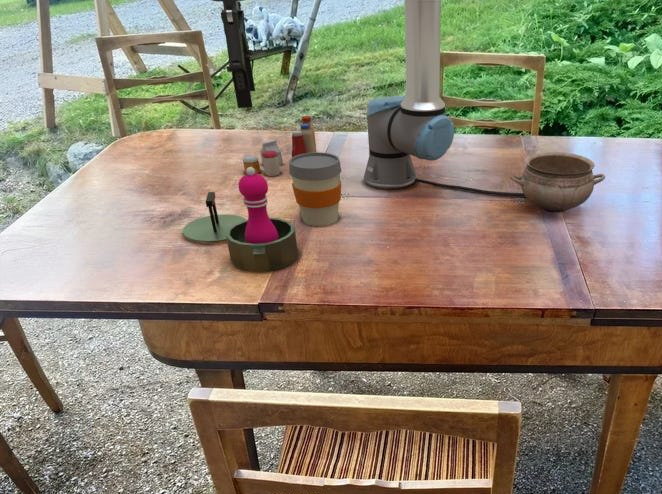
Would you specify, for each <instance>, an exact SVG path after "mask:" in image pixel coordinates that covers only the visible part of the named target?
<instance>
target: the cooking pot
mask: <svg viewBox="0 0 662 494" xmlns="http://www.w3.org/2000/svg"><path fill="white" fill-rule="evenodd" d="M525 163H526V166H525V168H524V169H523V172H522V175H515V174H511V175H510V176H509V177H510V180H511V181H513V182H514V183H516V184H518V185H519V186H520V187H521V191H522V193H524V195H525V196H526V197H525V198H526V199H527V200H528V201H529V202H530V203H532V204H533V205H535V206H537V207H538V208H540V209H541V210H543V211H544V212H547V213H551V214H552V213H553V214H558V213H559V214H561V213H563V212H566V211H569V210H572V209H575V208H577V207H579V206H581V205H582V204H585V202H587V201H588V200H589V198H590V197H591V195H592V193H593V191H594V189H595V186H596V185H597V184H599V183H601V182H603V181H604V180H605V179H606V175H605V174H604V173H598V174H594V173H593V169H594V168H595V166H596V165H595V162H593V161H592V159H590V158H588V157H586V156H583V155H580V154H575V153H570V152H561V151H545V152H537V153H533V154H531V155H528V156H527V157H526V159H525Z"/></svg>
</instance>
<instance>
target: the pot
mask: <svg viewBox="0 0 662 494" xmlns="http://www.w3.org/2000/svg"><path fill="white" fill-rule="evenodd" d="M269 219H270V220H271V222H272V223H273V225H274V226H275V228H276V230H277V232H278V237H279V238H278V240H276V241H271V242H267V243H256V244H252V243H246V241H245V229H246V226H247V222H248V219H247V220H244V221H241V222H239V223H236V224H234V225H232V226H231V227H230V228H229V229H228V230H227V233H226V239H227V241H226V243H227V248H228V253H229V258H230V261H231V263H232V265H233V266H234V267H235V268H236V269H239V270H240V271H243V272H249V273H269V272H274V271H278V270H281V269H285V268H286V267H289V266H291V265H293V264H294V263H295V262H296V260H297V259H298V256H299V253H298V251H299V249H298V242H297V234H296V226H295V225H294V224H293V223H292V222H291V221H289V220H286V219H283V218H280V217H270V216H269Z"/></svg>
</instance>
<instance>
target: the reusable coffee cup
mask: <svg viewBox="0 0 662 494" xmlns="http://www.w3.org/2000/svg"><path fill="white" fill-rule="evenodd" d="M288 173H289V176H291V180H292V183H291V187H292V191H293V194H294V198H295V202H296V204H297V205H298V207H299V211H300V215H301V219H302V222H303V223H305V224H306V225H308V226H314V227H323V226H325V227H326V226H329V225H332V224H334V223H336V222H337V221H338V220H339V207H340V205H339V204H340V201H341V196H342V180H341V173H342V166H341V162H340V158H339V156H337V155H336V154H333V153H329V152H317V151H316V152H314V153H305V154H300V155H297V156H294V157H292V156H291V158H290V159H289V160H288Z"/></svg>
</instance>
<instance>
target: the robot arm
mask: <svg viewBox="0 0 662 494" xmlns="http://www.w3.org/2000/svg"><path fill="white" fill-rule="evenodd" d="M211 1H213V2H222V7H223V9H221V11H220V18H221V22H222V25H223V32H224V36H225V41H226V50H227V56H228V57H227V58H228V63H229V64H228V66H226V71H227V72H228V73H231V77H232V81H233V88H234V93H235V100H236V105H237V108H238V109H251V108H253V100H252V95H251V92H256V86H255V80H254V73H253V69H252V68H253V67H252V62H251V56H254V55H253V54H254V52H253V49H250V46H249V43H248V38H247V33H246V22H245V12H244V10H243V9H242V3H241V2H243V1H245V0H211ZM403 2H404V5H403V6H404V50H405V51H404V52H405V53H404V55H405V59H404V61H405V62H404V63H405V96H402V95H401V96H399V95H398V96H397V95H396V96H386V97H378V98H374V99H372V100H369V102H368V103H367V107H366V108H367V109H366V122H367V123H366V124H367V139H368V140H367V141H368V155H369V156H368V159H367V163H366V167H365V169H364V170H365V171H364V175H363V183H364V185H365V186H366V187H368V188H370V189H373V190H377V191H384V192H393V191H394V192H395V191H402V190H408V189H410V188H412V187H414V186H415V185H416V184H417V183H420V184H424V185H429V186H434V187H438V188H445V189H452V190H460V191H466V192H471V193H472V192H473V193H477V194H484V195H494V196H504V197H525V198H526V196H525V195H524V193H523V192H508V191H507V192H505V191H495V190H485V189H479V188H473V187H469V186H461V185H454V184H446V183H445V184H444V183H439V182H435V181H430V180H426V179H421V178H418V177H417V172H416V169H415V166H414V163H413V160H412V157H415V158H416V159H419V160H426V161H430V162H434V161H437V160H439V159H441V158H442V157H443V156H445V155H446V154H447V152H448V150H449V149H450V148H451V146H452V144H453V141H454V137H455V125H454V122H453V121H452V119H451V118H450V117H448V116H447V115H446V102H445V101H444V100H443V99H442V98H441V35H442V34H441V29H442V27H441V25H442V23H441V22H442V0H403Z"/></svg>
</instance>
